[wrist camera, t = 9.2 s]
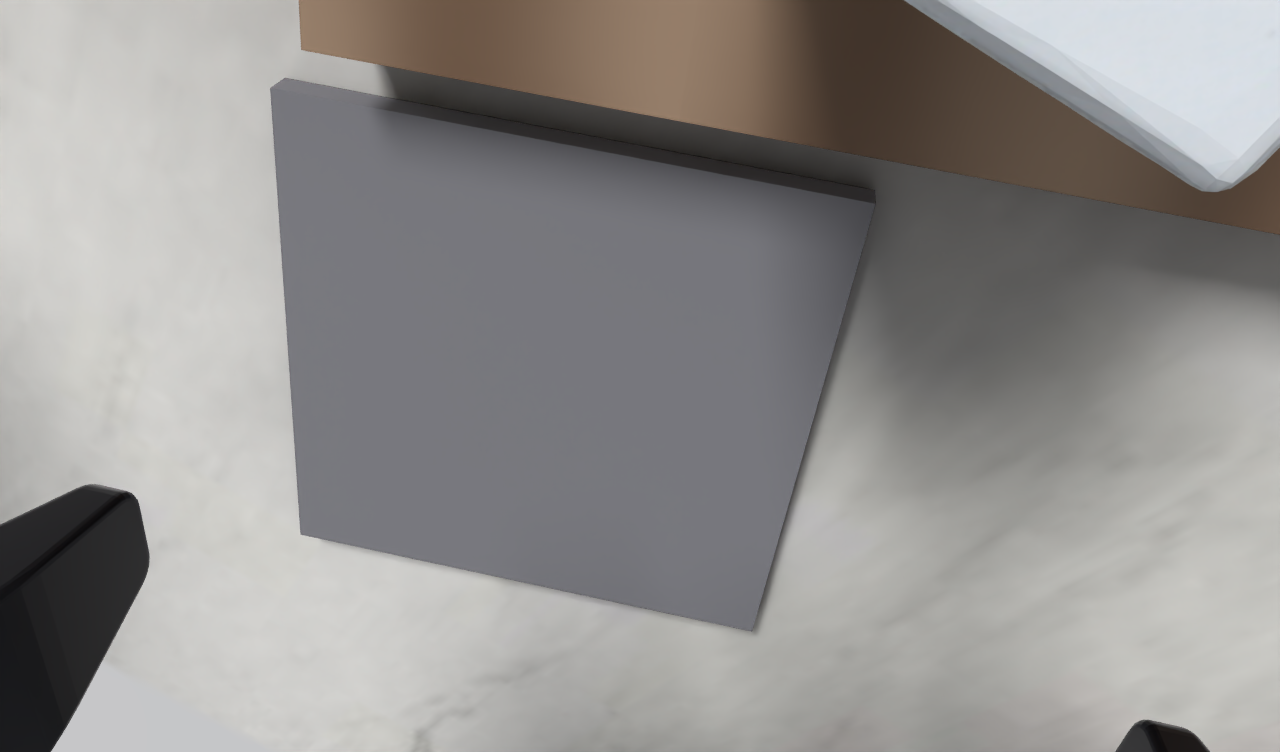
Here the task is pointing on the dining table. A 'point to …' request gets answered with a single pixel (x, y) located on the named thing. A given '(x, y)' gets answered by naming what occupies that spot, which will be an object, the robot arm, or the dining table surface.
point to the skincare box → (1146, 72)
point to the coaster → (552, 347)
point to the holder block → (785, 84)
